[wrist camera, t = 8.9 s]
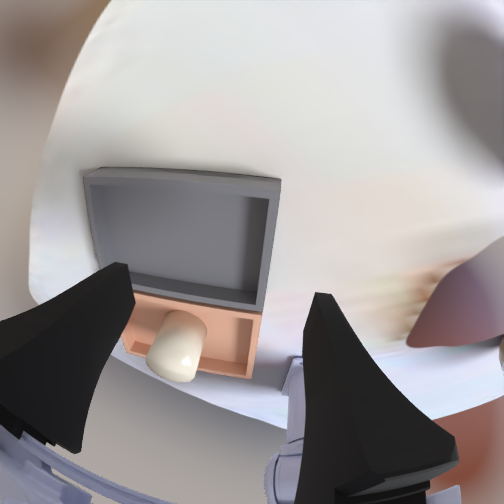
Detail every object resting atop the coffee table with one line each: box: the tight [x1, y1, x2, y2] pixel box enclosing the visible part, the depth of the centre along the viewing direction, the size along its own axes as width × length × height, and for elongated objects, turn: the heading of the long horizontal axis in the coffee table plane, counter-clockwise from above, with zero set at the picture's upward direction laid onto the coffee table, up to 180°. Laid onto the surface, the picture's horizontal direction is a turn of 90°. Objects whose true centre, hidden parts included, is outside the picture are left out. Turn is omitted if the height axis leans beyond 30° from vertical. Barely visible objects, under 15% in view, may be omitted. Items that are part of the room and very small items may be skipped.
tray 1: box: [83, 167, 281, 312], centre depth 20 cm, size 14×10×2 cm
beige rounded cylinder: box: [146, 310, 207, 382], centre depth 23 cm, size 4×4×5 cm
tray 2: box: [121, 289, 262, 379], centre depth 25 cm, size 14×10×2 cm
